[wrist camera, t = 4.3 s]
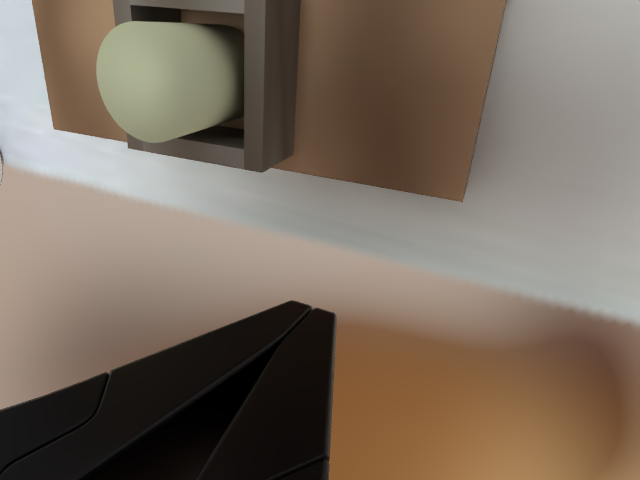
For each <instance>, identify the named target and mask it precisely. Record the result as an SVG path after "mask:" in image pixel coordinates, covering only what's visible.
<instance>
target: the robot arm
mask: <svg viewBox="0 0 640 480" xmlns="http://www.w3.org/2000/svg"><path fill="white" fill-rule="evenodd" d="M336 321H337V316H336V314H335V313H333V312H330V311H326V310H323V309H320V308H314V309H313V307H312V306H310V305H307V304H304V303H300V302H297V301H288V302H285V303H283V304H280V305H278V306H275V307H272V308H270V309H267V310H265V311H262V312H260V313H257V314H254V315H252V316H250V317H247V318H244V319H242V320H239V321H237V322H234V323H231V324H229V325H226V326H224V327H221V328H218V329H216V330H213V331H211V332H208V333H206V334H203V335H200V336H198V337H195V338H193V339H190V340H188V341H185V342H182V343H180V344H177V345H175V346H172V347H170V348H167V349H165V350H162V351H159V352H157V353H154V354H152V355H149V356H146V357H144V358H141V359H139V360H136V361H134V362H131V363H128V364H126V365H123V366H121V367H118V368H115V369H113V370H111V372H110V374H108V373H107V372H105V373H102V374H100V375H97V376H95V377H92V378H89V379H87V380H84V381H82V382H79V383H76V384H74V385H71V386H68V387H65V388H63V389H60V390H57V391H54V392H52V393H49V394H46V395H44V396H41V397H38V398H35V399H32V400H29V401H26V402H23V403H20V404H17V405H13V406H10V407H7V408H4V409H1V410H0V480H329V459H330V438H331V419H332V401H333V381H334V362H335V342H336Z"/></svg>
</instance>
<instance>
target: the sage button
mask: <svg viewBox="0 0 640 480" xmlns="http://www.w3.org/2000/svg"><path fill="white" fill-rule="evenodd" d="M96 74H97V82H98V87H99V91H100V95H101V97H102V100H103V102H104V104H105V106H106V108H107V110H108V112H109V113H110V115H111V116H112V118H113V119H114V120H115V122H116V123H117V124H118V125H119V126H120V127H121V128H122V129H123V130H124V131H126V132H127V133H128V134H130V135H131V136H133V137H135V138H137V139H139V140H142V141H145V142H150V143H161V142H165V141H168V140H172V139H175V138H178V137H181V136H184V135H187V134H190V133H193V132H197V131H200V130H203V129H206V128H209V127H212V126H215V125H218V124H222V123H225V122H228V121H231V120H234V119H237V118H240V117H242V116H244V34H243V33H242V32H240V31H239V30H237V29H235V28H234V27H231V26H228V25H223V24H200V23H172V22H143V21H130V22H125V23H122V24H120V25H118V26H116V27H115V28H113V29H112V30H111V31H110V32H109V33H108V34H107V36H106V37H105V38H104V40H103V42H102V44H101V46H100V49H99V52H98V56H97V63H96Z"/></svg>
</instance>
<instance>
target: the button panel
mask: <svg viewBox="0 0 640 480" xmlns="http://www.w3.org/2000/svg"><path fill="white" fill-rule="evenodd" d="M32 4H33V10H34V16H35V22H36V28H37V33H38V39H39V45H40V51H41V57H42V63H43V69H44V74H45V80H46V86H47V92H48V98H49V104H50V110H51V115H52V121H53V127H54V129H56V130H62V131H67V132H73V133H78V134H84V135H90V136H95V137H101V138H107V139H112V140H118V141H123V142H128V148H130V149H135V150H141V151H146V152H152V153H157V154H163V155H168V156H174V157H179V158H185V159H190V160H196V161H201V162H207V163H212V164H218V165H223V166H228V167H234V168H239V169H245V170H250V171H256V172H261V173H262V172H264V171H266V170H268V169H269V168H275V169H281V170H286V171H292V172H298V173H303V174H309V175H315V176H320V177H326V178H331V179H337V180H343V181H348V182H354V183H360V184H365V185H371V186H376V187H382V188H388V189H393V190H399V191H405V192H410V193H416V194H421V195H427V196H433V197H438V198H444V199H450V200H455V201H461V202H463V198H464V194H465V189H466V184H467V180H468V175H469V171H470V166H471V161H472V157H473V152H474V147H475V143H476V138H477V133H478V129H479V124H480V120H481V115H482V110H483V106H484V101H485V96H486V92H487V87H488V82H489V78H490V73H491V69H492V64H493V59H494V55H495V50H496V45H497V41H498V36H499V31H500V27H501V22H502V18H503V13H504V8H505V4H506V0H32ZM130 21H143V22H172V23H200V24H223V25H228V26H231V27H234V28H235V29H237V30H239V31H240V32H242V33H243V34H244V116H242V117H240V118H237V119H234V120H231V121H228V122H225V123H222V124H218V125H215V126H212V127H209V128H206V129H203V130H200V131H197V132H193V133H190V134H187V135H184V136H181V137H178V138H175V139H172V140H168V141H165V142H161V143H150V142H145V141H142V140H139V139H137V138H135V137H133V136H131V135H130V134H128V133H127V132H126V131H124V130H123V129H122V128H121V127H120V126H119V125H118V124H117V123H116V122H115V120H114V119H113V118H112V116H111V115H110V113H109V112H108V110H107V108H106V106H105V104H104V102H103V100H102V97H101V95H100V91H99V87H98V82H97V74H96V63H97V56H98V52H99V49H100V46H101V44H102V42H103V40H104V38H105V37H106V36H107V34H108V33H109V32H110V31H111V30H112V29H113V28H115V27H116V26H118V25H120V24H122V23H125V22H130Z"/></svg>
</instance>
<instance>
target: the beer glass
mask: <svg viewBox="0 0 640 480" xmlns="http://www.w3.org/2000/svg"><path fill="white" fill-rule="evenodd" d="M2 171H3V167H2V159H1V155H0V184H1V181H2V173H3V172H2Z"/></svg>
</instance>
